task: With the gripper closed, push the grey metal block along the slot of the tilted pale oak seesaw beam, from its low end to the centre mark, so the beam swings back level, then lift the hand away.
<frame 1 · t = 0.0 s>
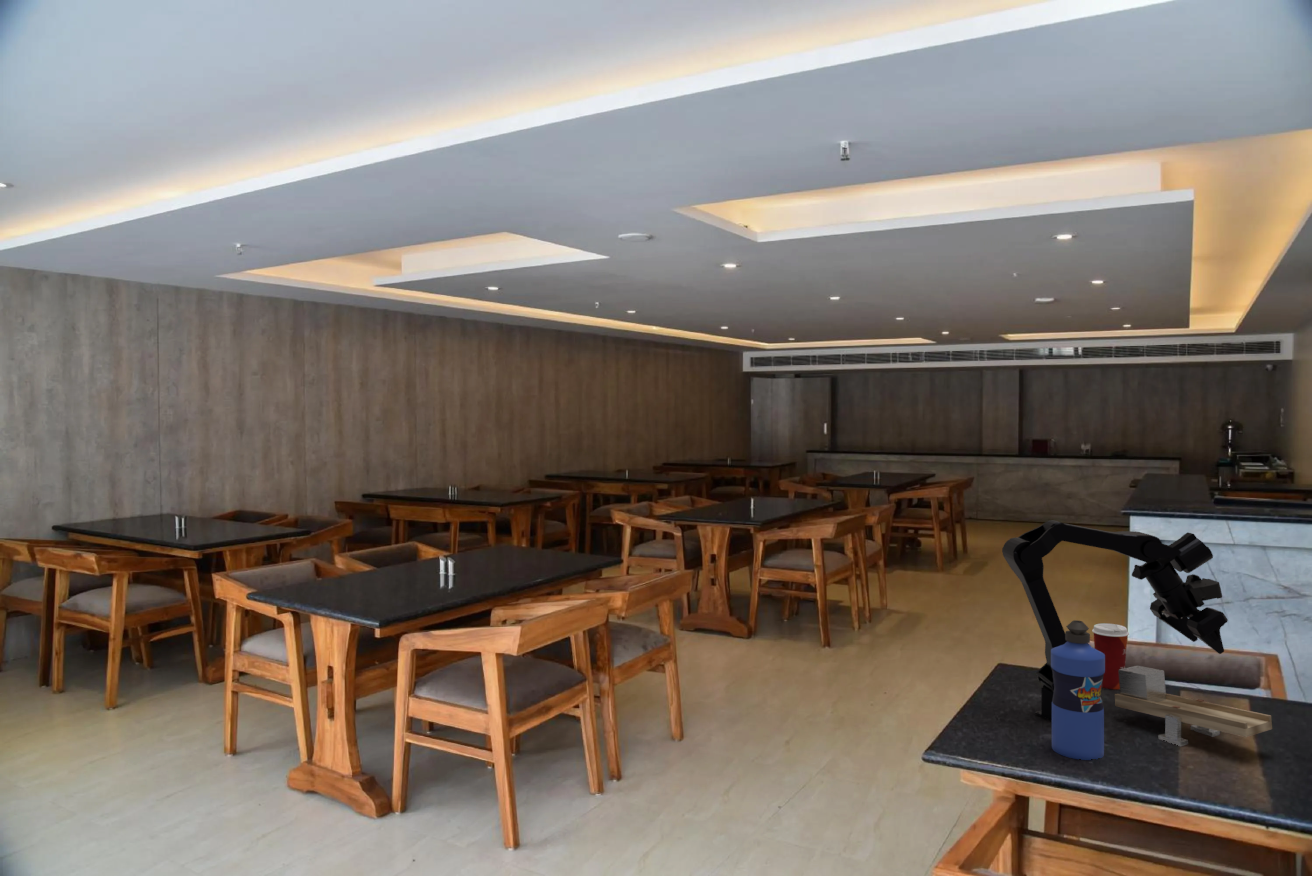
hand: (1208, 646, 183), 15 cm above the table, tool tilted 35°, fingers open, 9 cm apart
paper cup: (1110, 686, 204), on the table
water bottle: (1077, 751, 166), on the table
oak beam: (1188, 712, 172), point 5 cm above the table, hinge at -4.7°, touching metal block
pivot stand: (1189, 736, 172), on the table
metal block: (1143, 699, 181), point 5 cm above the table, touching oak beam
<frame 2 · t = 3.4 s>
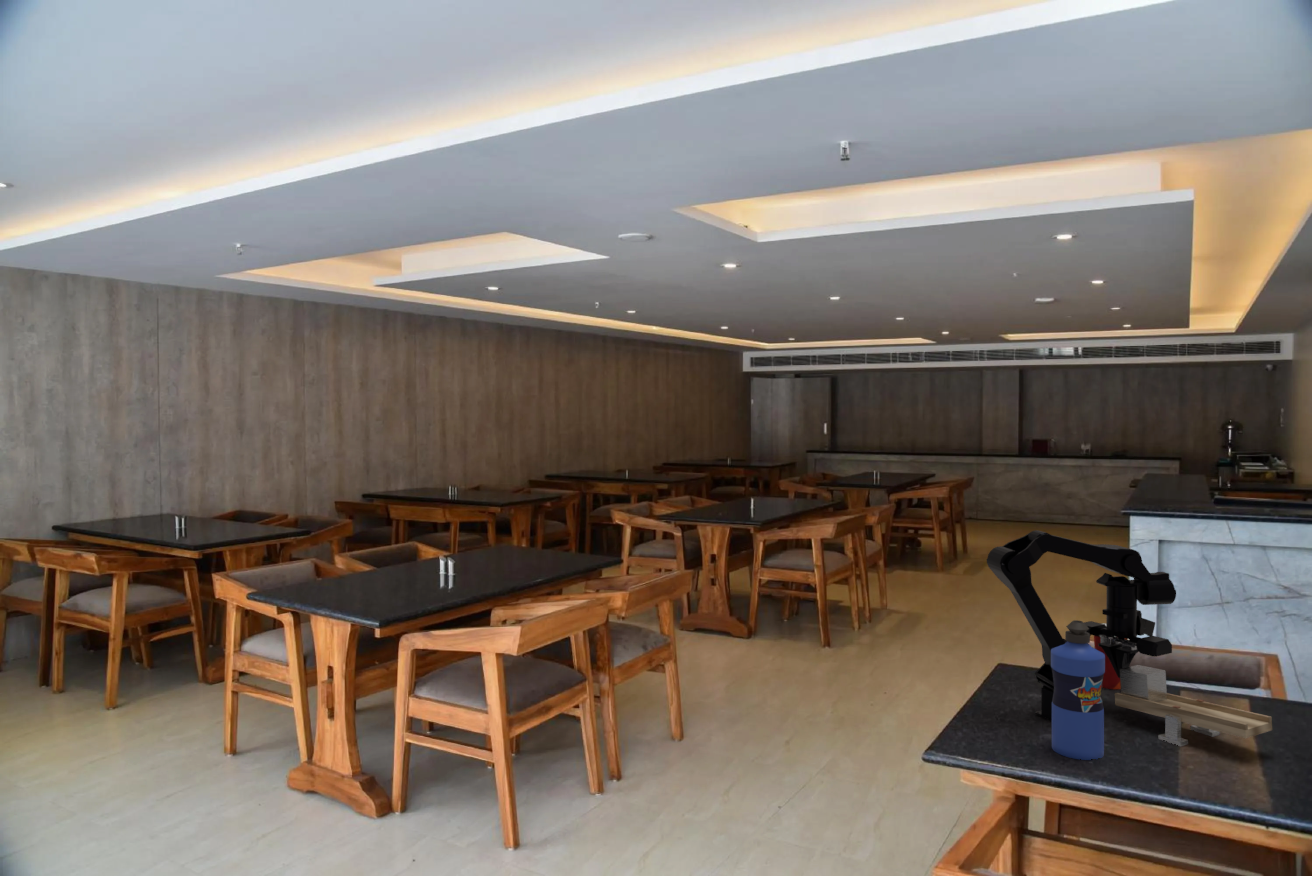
hand: (1121, 678, 185), 8 cm above the table, tool pointing down, fingers closed
oak beam: (1189, 712, 172), point 5 cm above the table, hinge at -3.8°
metal block: (1144, 698, 180), point 5 cm above the table, touching gripper
everything else where it was.
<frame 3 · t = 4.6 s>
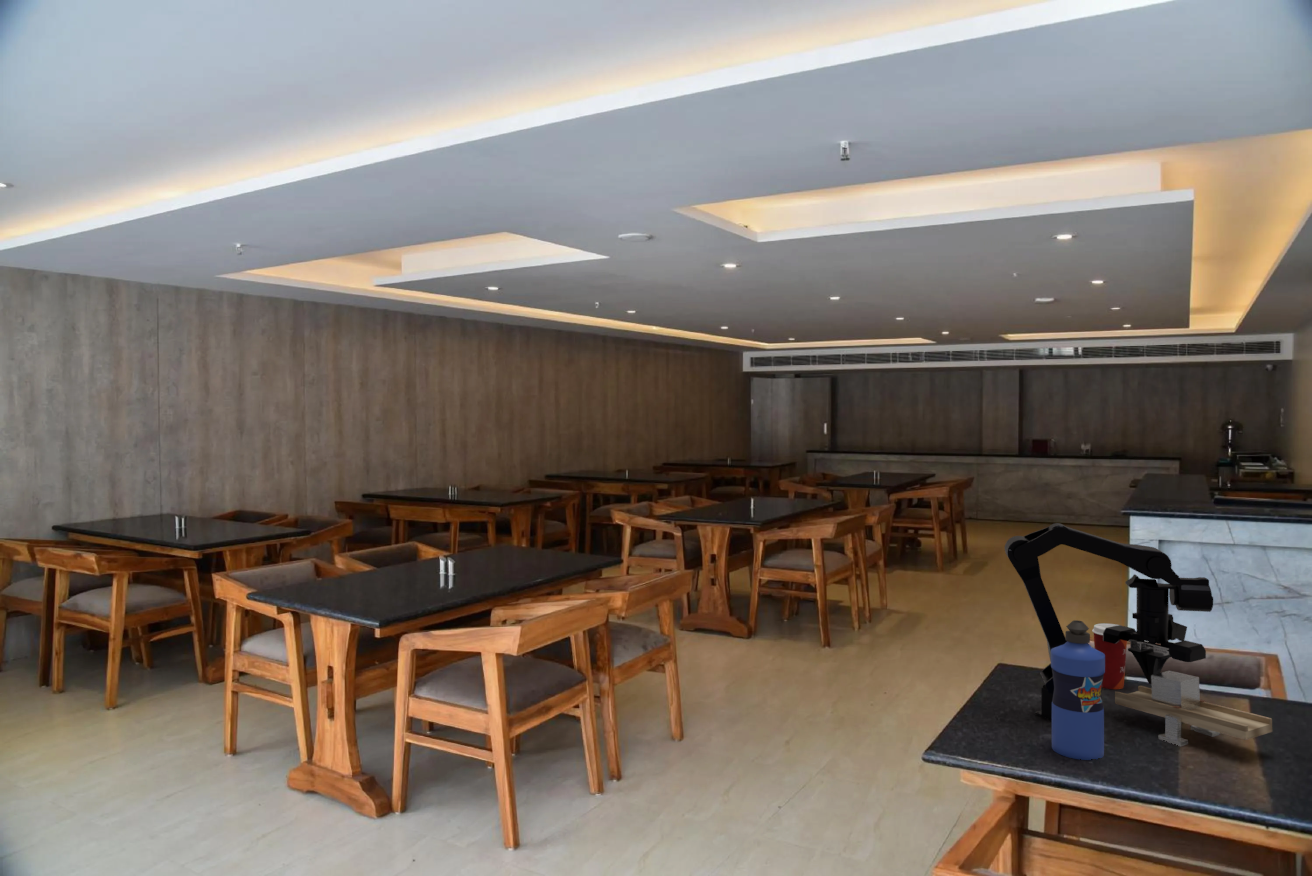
hand: (1152, 684, 179), 8 cm above the table, tool pointing down, fingers closed
oak beam: (1189, 712, 172), point 5 cm above the table, hinge at -2.5°, touching metal block
metal block: (1175, 705, 174), point 5 cm above the table, touching gripper, oak beam
everything else where it was.
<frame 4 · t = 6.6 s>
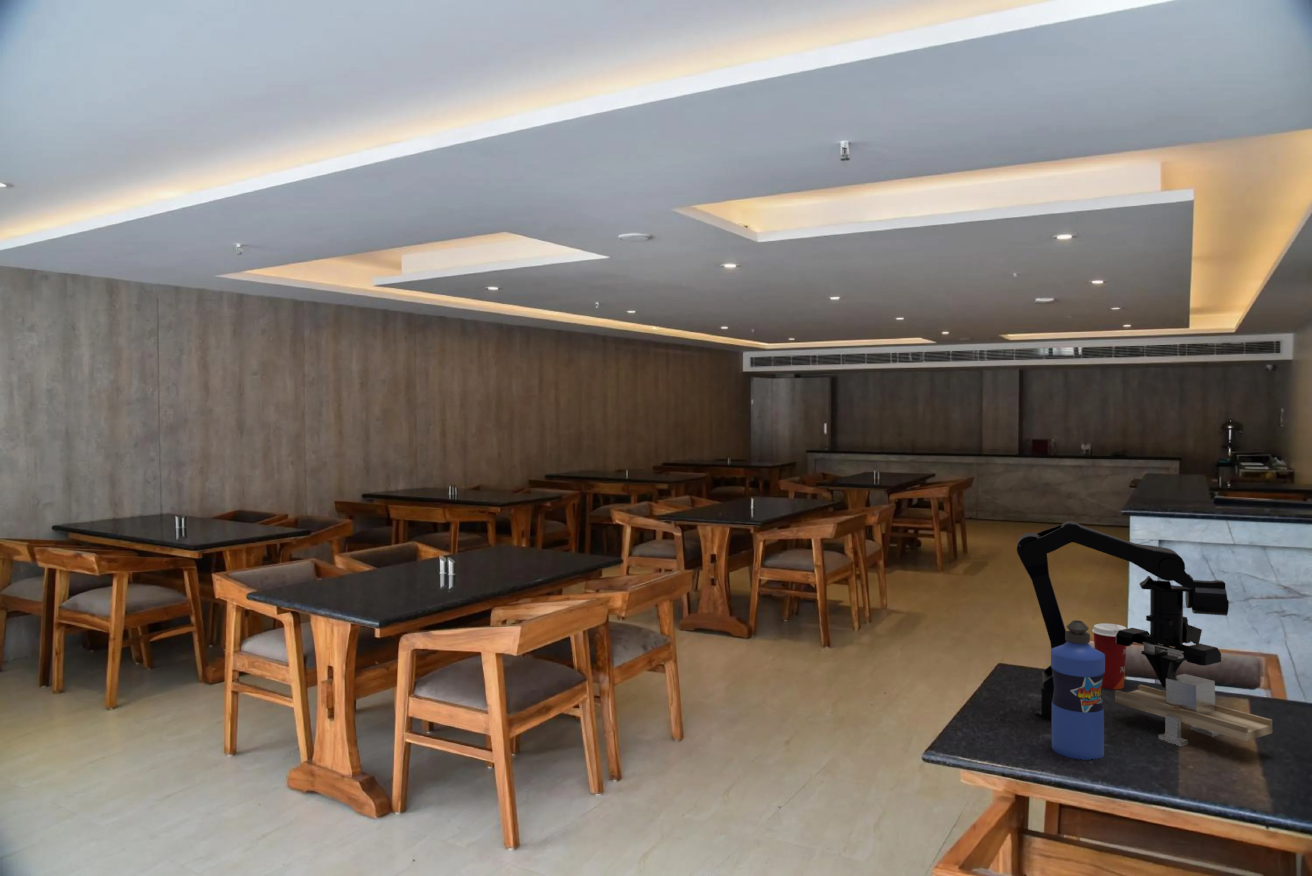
hand: (1166, 687, 176), 9 cm above the table, tool pointing down, fingers closed
oak beam: (1189, 712, 172), point 5 cm above the table, hinge at -1.4°, touching metal block
metal block: (1190, 709, 172), point 6 cm above the table, touching oak beam
everything else where it was.
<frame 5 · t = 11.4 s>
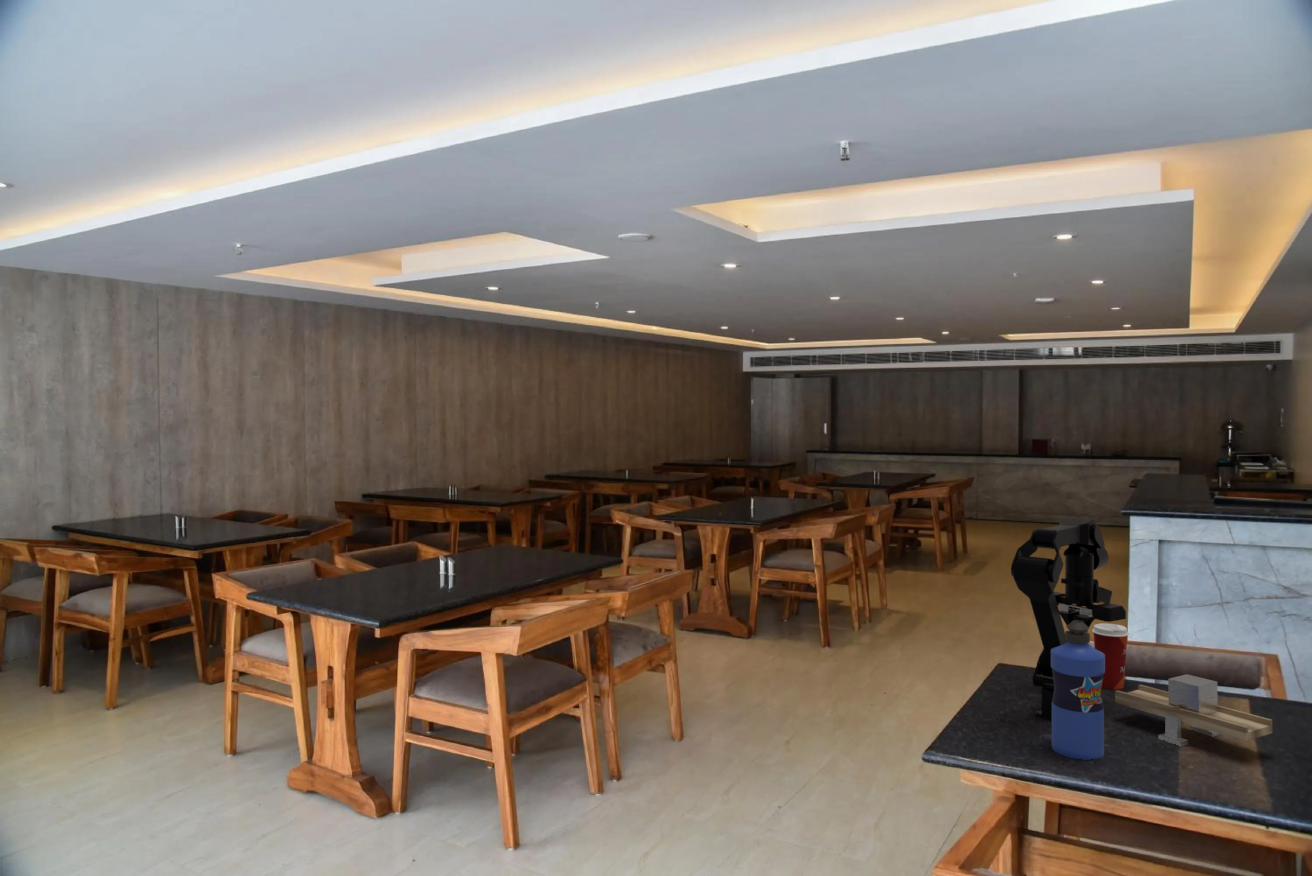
hand: (1079, 644, 193), 13 cm above the table, tool pointing down, fingers closed
nothing on the table moved.
at the end: oak beam at -1° (first picture: -5°); metal block inside the target area on the pivot stand (0.7 cm from its centre), point 5.5 cm above the pivot stand's base; metal block touching oak beam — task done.
